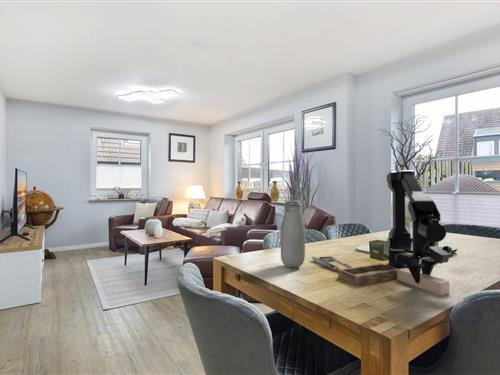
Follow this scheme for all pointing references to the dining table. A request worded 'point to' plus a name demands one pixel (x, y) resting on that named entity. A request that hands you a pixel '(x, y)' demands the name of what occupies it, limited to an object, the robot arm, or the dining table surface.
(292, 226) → the grey vase
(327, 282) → the dining table surface
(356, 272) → the brown wooden tray
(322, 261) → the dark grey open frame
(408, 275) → the pale pink bar
